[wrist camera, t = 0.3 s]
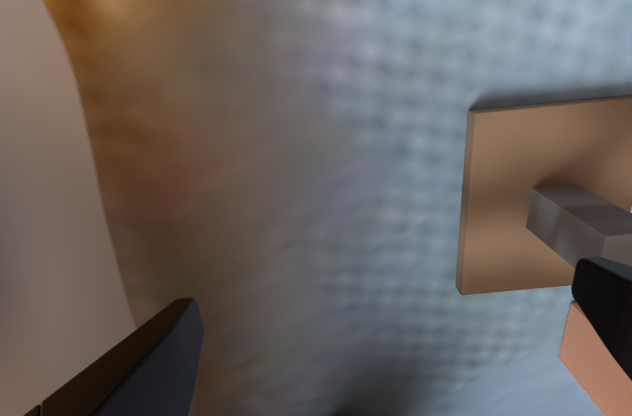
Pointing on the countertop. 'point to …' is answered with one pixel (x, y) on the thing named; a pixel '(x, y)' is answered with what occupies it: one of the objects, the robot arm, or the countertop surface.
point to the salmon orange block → (595, 366)
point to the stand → (544, 193)
